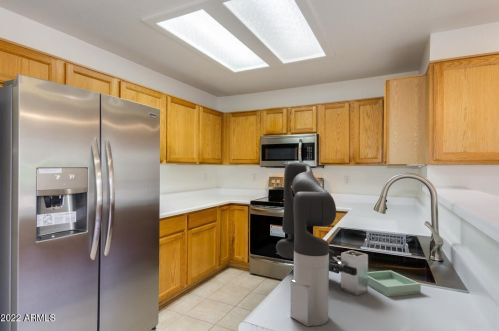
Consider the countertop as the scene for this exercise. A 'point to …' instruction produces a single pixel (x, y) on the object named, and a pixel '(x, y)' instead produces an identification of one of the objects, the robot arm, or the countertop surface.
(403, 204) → the countertop surface
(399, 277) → the bin
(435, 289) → the countertop surface
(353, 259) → the canister
